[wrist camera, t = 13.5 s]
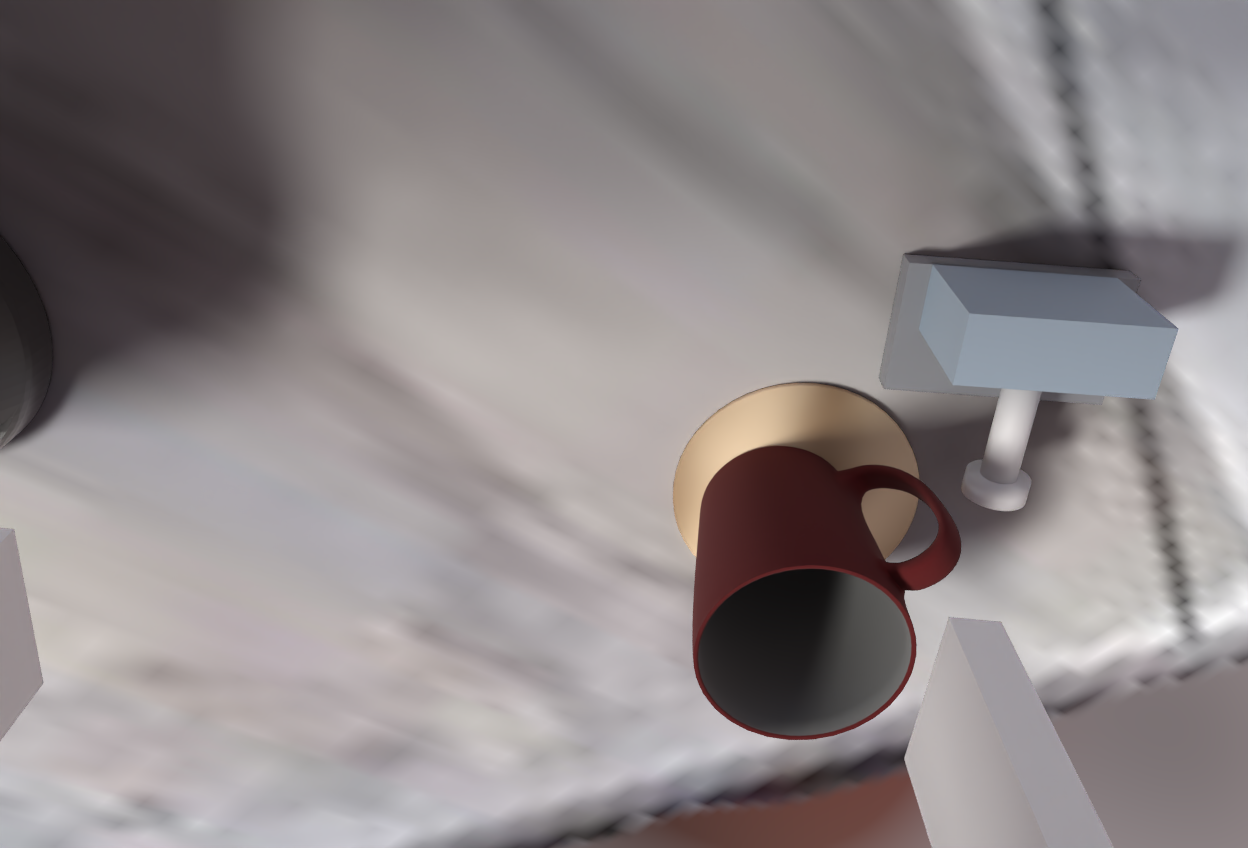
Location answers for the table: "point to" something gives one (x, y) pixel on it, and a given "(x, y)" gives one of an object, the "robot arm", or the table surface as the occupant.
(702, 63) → the table surface
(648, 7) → the table surface
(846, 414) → the coaster
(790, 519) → the mug
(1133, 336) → the vise
